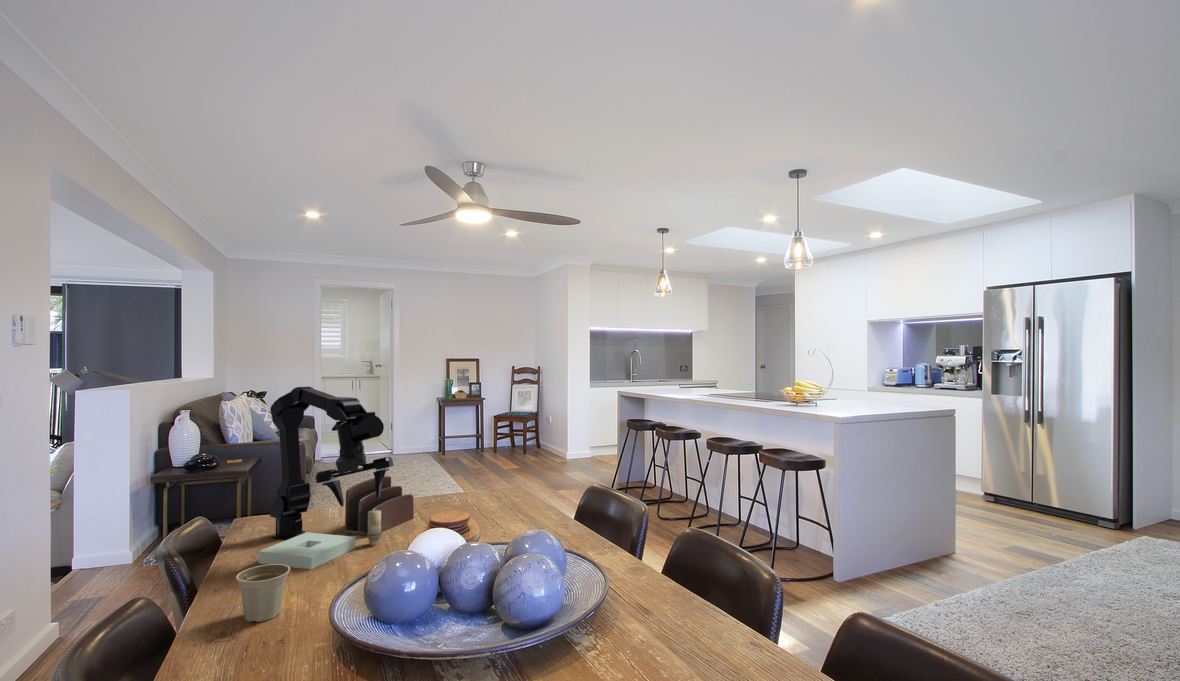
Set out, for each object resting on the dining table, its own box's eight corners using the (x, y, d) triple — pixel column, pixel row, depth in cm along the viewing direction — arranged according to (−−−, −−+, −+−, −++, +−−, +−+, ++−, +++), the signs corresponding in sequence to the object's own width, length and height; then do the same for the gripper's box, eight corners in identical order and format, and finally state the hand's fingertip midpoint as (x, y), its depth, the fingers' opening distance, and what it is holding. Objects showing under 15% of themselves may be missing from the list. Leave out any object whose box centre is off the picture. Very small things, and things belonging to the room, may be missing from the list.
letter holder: (344, 533, 166) (344, 485, 166) (388, 515, 184) (389, 472, 185) (371, 537, 162) (372, 488, 163) (414, 518, 181) (414, 474, 182)
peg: (364, 545, 154) (365, 512, 155) (372, 541, 158) (373, 509, 158) (375, 547, 153) (376, 513, 154) (383, 543, 157) (383, 510, 157)
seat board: (258, 563, 141) (258, 551, 141) (306, 543, 157) (306, 532, 157) (311, 569, 137) (311, 557, 137) (355, 548, 152) (355, 537, 153)
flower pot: (300, 609, 115) (301, 566, 116) (260, 630, 107) (260, 584, 107) (265, 602, 118) (266, 561, 119) (223, 622, 110) (224, 578, 110)
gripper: (304, 452, 142) (313, 514, 140) (379, 435, 145) (389, 496, 143) (319, 451, 153) (327, 509, 151) (389, 436, 156) (398, 492, 154)
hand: (360, 502), depth 149 cm, fingers open, 9 cm apart
